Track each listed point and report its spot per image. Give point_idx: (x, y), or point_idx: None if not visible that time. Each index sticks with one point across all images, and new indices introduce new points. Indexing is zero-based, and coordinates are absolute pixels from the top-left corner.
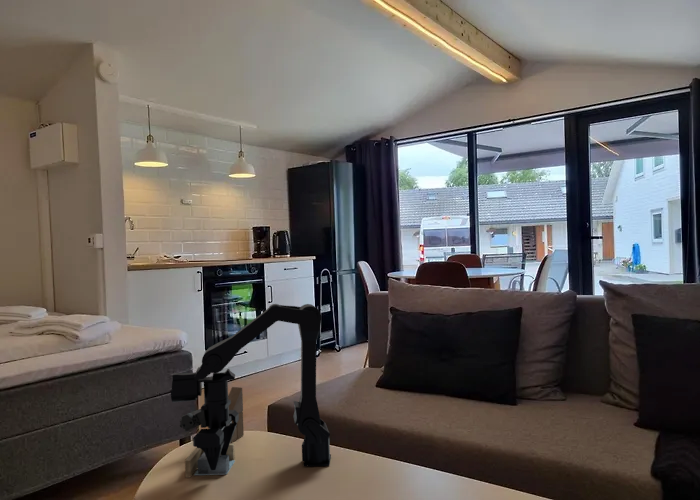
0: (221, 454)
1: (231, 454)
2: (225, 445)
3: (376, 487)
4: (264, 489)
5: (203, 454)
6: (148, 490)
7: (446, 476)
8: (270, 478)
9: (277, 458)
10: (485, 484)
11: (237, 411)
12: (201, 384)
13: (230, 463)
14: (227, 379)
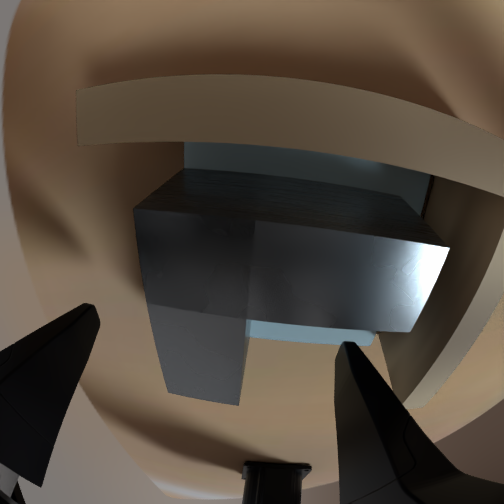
0: (344, 343)
1: (389, 355)
2: (344, 419)
3: (161, 475)
4: (106, 398)
5: (288, 241)
6: None
7: (201, 498)
8: (171, 419)
9: (330, 435)
10: (184, 498)
11: None
12: None
13: (331, 334)
14: None
